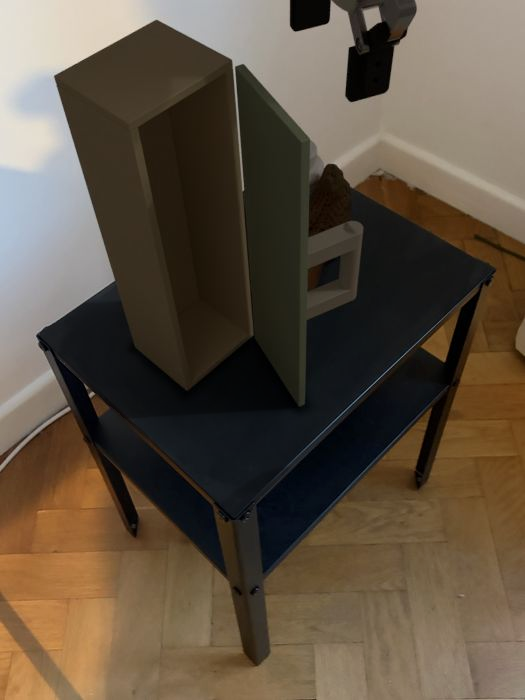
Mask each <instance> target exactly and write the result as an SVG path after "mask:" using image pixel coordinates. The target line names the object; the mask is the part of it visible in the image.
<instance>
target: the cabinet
mask: <svg viewBox="0 0 525 700" xmlns="http://www.w3.org/2000/svg"><path fill="white" fill-rule="evenodd" d="M234 75H235V74H234V63H233V59H231V58H230V57H229V56H226V55H224V54H223V53H220V52H219V51H216V50H214V49H213V48H211V47H209V46H207V45H205V44H204V43H201V42H200V41H198V40H196V39H194V38H192V37H190V36H188V35H187V34H185V33H183V32H181V31H179V30H178V29H175V28H174V27H172V26H170V25H168V24H166V23H164V22H163V21H161V20H159V19H154V20H152V21H151V22H149V23H147V24H146V25H143V26H142V27H140V28H138V29H136V30H135V31H133V32H130V33H129V34H127V35H126V36H124V37H122V38H120V39H118V40H117V41H114V42H113V43H111V44H109V45H107V46H105V47H104V48H102V49H100V50H98V51H96V52H94V53H92V54H90V55H88V56H87V57H85V58H83V59H82V60H79V61H78V62H77V63H74V64H72V65H71V66H69V67H67V68H65V69H63V70H61V71H60V72H58V73H56V74H55V75H53V79H54V81H55V84H56V85H55V86H56V89H57V92H58V96H59V99H60V102H61V105H62V109H63V113H64V115H65V119H66V123H67V126H68V129H69V132H70V135H71V138H72V143H73V146H74V149H75V152H76V155H77V159H78V163H79V166H80V168H81V172H82V175H83V179H84V182H85V187H86V189H87V193H88V195H89V198H90V199H89V200H90V203H91V206H92V208H93V212H94V216H95V219H96V222H97V225H98V229H99V231H100V236H101V239H102V242H103V245H104V249H105V251H106V255H107V259H108V262H109V266H110V269H111V272H112V275H113V278H114V282H115V285H116V288H117V292H118V295H119V298H120V302H121V305H122V309H123V311H124V315H125V318H126V321H127V325H128V328H129V332H130V336H131V339H132V342H133V345H134V348H135V349H137V350H138V351H139V352H140V353H141V354H143V356H145V357H146V358H147V359H148V360H149V361H151V363H153V364H154V365H155V366H157V367H158V368H159V369H160V370H161V371H163V372H164V373H165V374H166V375H167V376H168V377H170V378H171V379H172V380H173V381H174V382H176V383H177V384H178V385H179V386H180V387H182V388H183V389H184V390H185V391H187V392H188V391H189V390H191V389H192V388H193V387H194V386H195V385H196V384H197V383H199V382H200V381H202V379H203V378H204V377H206V376H207V375H208V374H210V373H211V372H212V371H213V370H214V369H216V367H217V366H219V365H220V364H222V362H224V361H225V360H226V359H227V358H228V357H230V356H231V355H232V354H234V352H236V351H237V350H238V349H239V348H240V347H242V345H244V344H245V343H246V342H248V341H249V340H250V339H251V338H252V337H253V336H255V333H254V320H253V307H252V299H251V295H250V282H249V275H250V268H249V255H248V242H247V229H246V216H245V203H244V190H243V177H242V167H241V166H242V164H241V151H240V142H239V141H240V138H239V125H238V115H237V114H238V112H237V102H236V87H235V76H234Z"/></svg>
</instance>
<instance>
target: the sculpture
mask: <svg viewBox="0 0 525 700" xmlns="http://www.w3.org/2000/svg"><path fill="white" fill-rule="evenodd" d="M351 191H352V190H351V184H350V183H349V181H348V180H347V179H346V178H345V176H344V172H343V170H342V169H341V168H339V166H338V165H337V164H335V163H326V165H324V170H323V173H322V175H321V177H320V179H319V182H318V185H317V187H316V189H315V192H314V193H313V195H312V197H311V199H310V202H309V226H308V238H309V237H311V236H314V235H316V234H319V233H321V232H324V231H326V230H329V229H331V228H334V227H336V226H339V225H341V224H344V223H346V222H349V221H352V205H353V202H352V194H351ZM325 264H326V262H323V263H321V264H318V265H316V266H313V267H311V268H309V269H308V276H307V292H309V291H311V290H313V289H316V288H318V287H319V283H320V279H321V275H322V270H323V267H324V265H325ZM249 282H250V295H251V300H252V290H251V276H250V274H249Z"/></svg>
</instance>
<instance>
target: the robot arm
mask: <svg viewBox="0 0 525 700" xmlns="http://www.w3.org/2000/svg"><path fill="white" fill-rule="evenodd" d="M332 3H333V4H334V5H336V6H337V7H338V8H340V9H341V10H343V11H344V12H347V14H348V20H349V24H350V30H351V34H352V38H353V43H354V45H352V46H349V47H348V49H347V50H348V51H347V64H346V65H347V66H346V76H345V77H346V79H345V91H344V93H345V94H344V97H345V98H346V99H347V101H348V102H349V103H355V102H358V101H362V100H366V99H369V98H373V97H376V96H380V95H383V94H386V93H387V92H388V91H389V89H390V84H391V76H392V68H393V60H394V53H395V46H398V45H400V43H401V40H403V39H404V38H406V36H407V34H408V30H409V27H410V26H411V24H412V22H413V20H414V18H415V17H416V14H417V11H418V7H417V2H416V0H289V27H290V28H291V30H292V31H293V32H295V33H296V32H302V31H305V30H309V29H313V28H318V27H321V26H325V25H328V24H329V23H330V21H331V6H332ZM376 8H377V9H378V11H379V17H380V21H381V22H376V24H374V25H373V26H371V28H369V29H368V28H367V22H366V17H365V13H364V12H365V11H368V10H372V9H376Z"/></svg>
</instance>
